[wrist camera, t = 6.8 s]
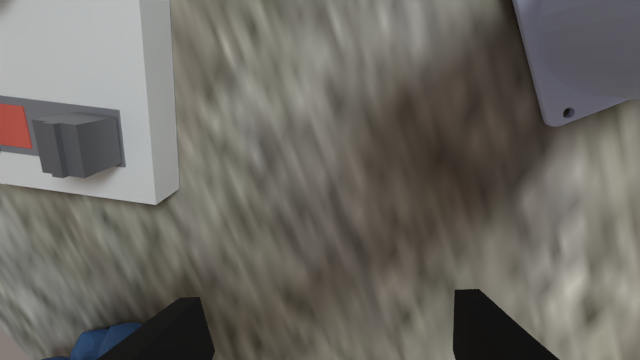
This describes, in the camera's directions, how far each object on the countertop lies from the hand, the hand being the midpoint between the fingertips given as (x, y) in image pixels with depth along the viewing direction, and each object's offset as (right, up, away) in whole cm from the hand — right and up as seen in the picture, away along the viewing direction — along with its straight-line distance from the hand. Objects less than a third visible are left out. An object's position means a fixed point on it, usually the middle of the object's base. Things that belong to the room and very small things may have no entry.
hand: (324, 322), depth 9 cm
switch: (-11, +6, +7) cm, 15 cm away
